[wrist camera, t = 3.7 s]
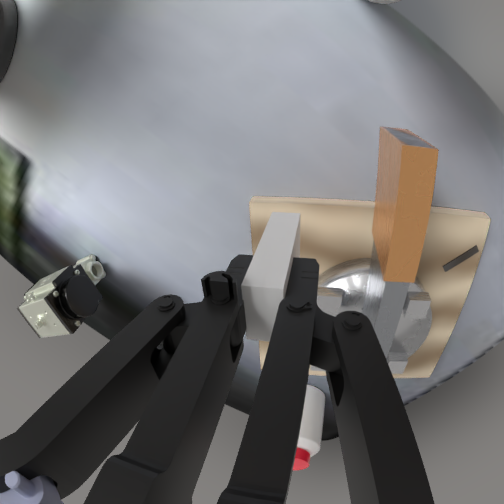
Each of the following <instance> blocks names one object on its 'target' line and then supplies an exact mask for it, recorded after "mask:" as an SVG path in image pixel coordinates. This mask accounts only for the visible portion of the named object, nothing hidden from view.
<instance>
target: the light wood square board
mask: <svg viewBox="0 0 504 504" xmlns="http://www.w3.org/2000/svg"><path fill="white" fill-rule="evenodd" d="M374 207H375V202H374V201H359V200H343V199H324V198H300V197H268V196H253V197H252V198H251V200H250V202H249V209H250V223H251V237H252V251H253V256H254V254H255V251H256V249H257V247H258V244H259V242H260V240H261V237H262V235H263V233H264V230H265V228H266V225H267V223H268V221H269V218H270V216H271V214H272V212H286V213H300V258H313V259H316V260H317V262H318V264H319V265H320V266H319V275H320V274H322V273H323V272H325V271H326V270H328V269H329V268H331V267H333V266H335V265H337V264H340V263H343V262H345V261H349V260H353V259H359V258H371V254H372V248H373V241H374V239H373V235H372V225H373V216H374ZM490 222H491V219H490V218H489V216H488V215H487V214H486V213H485V212H478V211H470V210H461V209H452V208H443V207H433V206H431V209H430V215H429V220H428V225H427V230H426V235H425V240H424V245H423V249H422V254H421V258H420V262H419V266H418V270H417V274H416V276H417V277H418V278H419V280H420V281H421V283H422V285H423V287H424V289H425V292H428V293H429V296H430V298H431V303H430V307H431V311H432V323H431V328H430V331H429V334H428V336H427V338H426V340H425V341H424V343H423V344H422V345H421V346H420V348H419V349H418V350H417V351H416V352H415V353H414V354H412V355H411V356H410V357H409V358H408V363H407V365H406V367H405V370H404V372H403V374H392V375H393V378H427V377H430V375H431V373H432V372H433V370H434V368H435V366H436V364H437V362H438V360H439V358H440V356H441V354H442V352H443V350H444V348H445V346H446V344H447V342H448V340H449V337H450V335H451V333H452V331H453V329H454V326H455V324H456V322H457V319H458V317H459V315H460V312H461V310H462V307H463V305H464V302H465V300H466V297H467V295H468V292H469V289H470V287H471V284H472V281H473V278H474V275H475V272H476V269H477V266H478V263H479V260H480V257H481V254H482V251H483V247H484V244H485V240H486V237H487V233H488V229H489V225H490ZM268 346H269V341H260V340H259V349H260V363H261V370H262V368H263V364H264V361H265V357H266V353H267V349H268ZM310 367H311V365H310ZM309 375H320V376H326V371H313V370H310V368H309Z"/></svg>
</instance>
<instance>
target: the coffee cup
mask: <svg viewBox="0 0 504 504" xmlns="http://www.w3.org/2000/svg"><path fill="white" fill-rule="evenodd" d="M368 1H370V2H374V3H379V4H391V3H395V2H398V1H401V0H368Z"/></svg>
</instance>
